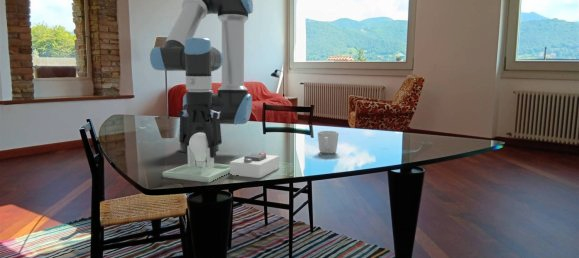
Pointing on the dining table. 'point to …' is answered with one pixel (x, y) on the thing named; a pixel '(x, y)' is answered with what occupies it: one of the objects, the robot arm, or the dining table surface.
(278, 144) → the dining table surface
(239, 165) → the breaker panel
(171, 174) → the tray
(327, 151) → the cup
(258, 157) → the button
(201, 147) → the light bulb
